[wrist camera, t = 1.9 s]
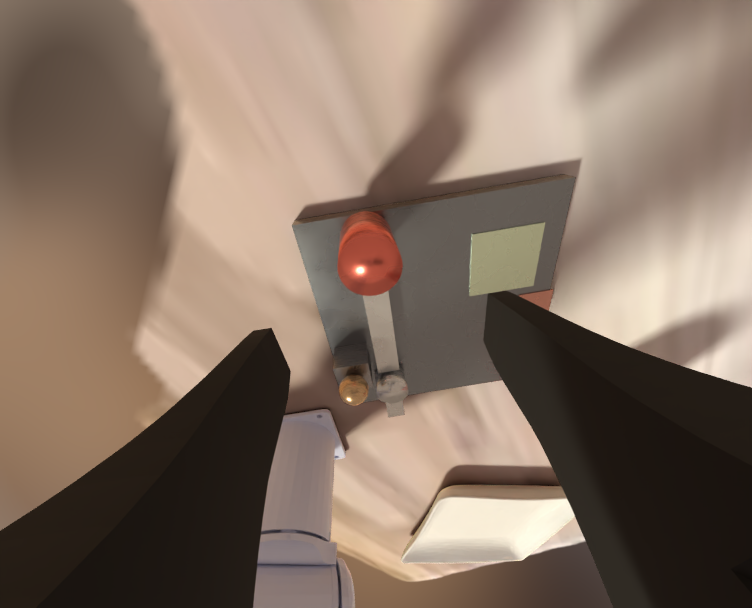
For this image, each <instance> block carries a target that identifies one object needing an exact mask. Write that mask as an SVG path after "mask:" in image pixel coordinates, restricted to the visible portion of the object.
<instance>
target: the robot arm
mask: <svg viewBox="0 0 752 608" xmlns="http://www.w3.org/2000/svg"><path fill="white" fill-rule="evenodd" d="M483 341H484V344H485V346H486V349H487V351H488V353H489V356H490V358H491V360H492V362H493V364H494V366H495V368H496V370H497V372H498V373H499V375H500V377H501V378H502V380H503V382H504V383H505V385H506V386H507V388H508V390H509V391H510V393H511V395H512V396H513V398H514V399H515V401H516V403H517V404H518V406H519V408H520V409H521V411H522V412H523V414H524V416H525V417H526V419H527V421H528V422H529V424H530V425H531V427H532V429H533V431H534V432H535V434H536V436H537V438H538V439H539V441H540V443H541V445H542V447H543V449H544V451H545V453H546V455H547V457H548V460H549V462H550V464H551V466H552V468H553V470H554V472H555V474H556V476H557V478H558V480H559V482H560V485H561V487H562V489H563V491H564V493H565V495H566V497H567V500H568V502H569V504H570V506H571V508H572V510H573V513H574V515H575V517H576V520H577V522H578V524H579V526H580V529H581V531H582V533H583V536H584V538H585V540H586V542H587V545H588V547H589V549H590V551H591V554H592V556H593V559H594V561H595V564H596V566H597V568H598V571H599V573H600V576H601V578H602V581H603V583H604V586H605V588H606V590H607V593H608V596H609V598H610V600H611V603H612V605H613V608H752V388H751V387H747V386H744V385H740V384H737V383H733V382H730V381H727V380H724V379H721V378H717V377H714V376H711V375H708V374H705V373H701V372H698V371H695V370H692V369H689V368H686V367H683V366H680V365H677V364H674V363H671V362H668V361H665V360H663V359H660V358H657V357H654V356H652V355H649V354H646V353H644V352H641V351H638V350H636V349H633V348H630V347H628V346H625V345H623V344H620V343H618V342H615V341H613V340H611V339H608V338H606V337H604V336H601V335H599V334H597V333H595V332H592V331H590V330H588V329H585V328H583V327H581V326H579V325H577V324H575V323H573V322H570V321H568V320H566V319H564V318H562V317H560V316H558V315H556V314H554V313H552V312H550V311H548V310H546V309H544V308H542V307H540V306H538V305H536V304H534V303H532V302H530V301H528V300H526V299H524V298H522V297H520V296H518V295H516V294H513V293H511V292H509V291H500V292H494V293H488V296H487V306H486V317H485V327H484V338H483ZM290 372H291V371H290V369H289V366H288V364H287V362H286V360H285V357H284V355H283V353H282V351H281V348H280V346H279V344H278V342H277V339H276V337H275V335H274V333H273V330H272V328H268V329H262V330H256V331H253V332H252V333H250V334H249V335H248V336H247V337H246V338H245V339H244V340H243V341H242V342H241V343H240V344H239V345H237V346H236V347H235V348H234V349H233V350H232V351H231V352H230V353H229V354H228V355H227V356H226V357H225V358H224V359H223V360H222V361H221V362H220V363H219V364H218V365H217V366H216V367H215V368H214V369H213V370H212V371H211V372H210V373H209V374H208V375H207V376H206V377H205V378H204V379H203V380H202V381H200V382H199V383H198V384H197V385H196V386H195V387H194V388H193V389H192V390H191V391H189V392H188V393H187V394H186V395H185V396H184V397H183V398H182V399H181V400H180V401H178V402H177V403H176V404H175V405H174V406H173V407H172V408H171V409H169V410H168V411H167V412H166V413H165V414H164V415H162V416H161V417H160V418H159V419H158V420H156V421H155V422H154V423H153V424H152V425H150V426H149V427H148V428H147V429H145V430H144V431H143V432H141V433H140V434H139V435H138V436H136V437H135V438H134V439H133V440H131V441H130V442H129V443H127V444H126V445H125V446H124V447H122V448H121V449H120V450H118V451H117V452H115V453H114V454H113V455H112V456H110V457H108V458H107V459H106V460H104V461H103V462H102V463H100V464H99V465H97V466H96V467H95V468H93V469H92V470H90V471H89V472H88V473H86V474H85V475H84V476H82V477H81V478H79V479H78V480H77V481H75V482H74V483H72V484H71V485H69V486H68V487H66V488H65V489H64V490H62V491H61V492H59V493H58V494H56V495H55V496H53V497H52V498H50V499H49V500H47V501H46V502H44V503H43V504H41V505H40V506H38V507H37V508H35V509H34V510H32V511H30V512H29V513H27V514H26V515H24V516H23V517H21V518H20V519H18V520H17V521H15V522H13V523H12V524H10V525H9V526H7V527H6V528H4V529H3V530H1V531H0V608H355V598H354V587H353V580H352V576H351V574H350V571H349V569H348V568H347V566H346V563H345V561H344V560H343V559H342V558H336V557H337V543H335V542H331V523H332V501H333V480H334V460H336V459H342V458H344V457H345V456H346V452H345V449H344V447H343V444H342V441H341V439H340V436H339V433H338V431H337V428H336V425H335V423H334V420H333V418H332V415H331V412H330V411H329V410H328V409H321V410H315V411H309V412H302V413H296V414H290V415H284V413H285V409H286V404H287V400H288V392H289V383H290Z"/></svg>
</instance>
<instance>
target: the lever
mask: <svg viewBox="0 0 752 608" xmlns="http://www.w3.org/2000/svg"><path fill="white" fill-rule="evenodd" d="M337 267H338V274H339V277H340V279H341V281H342V283H343V284H344V285H345V286H346V287H347V288H348V289H349V290H351V291H352V292H354V293H356V294H359V295H363V299H364V304H365V309H366V314H367V319H368V324H369V329H370V334H371V339H372V344H373V349H374V354H375V359H376V364H377V369H378V370H377V371H376V373H375V382H376V392H377V397H378V399H379V400H380V401H382V402H384V403H386V407H387V412H388V417H394V416H400V415H405V414H404V407H403V399H405V398H406V397H407V395H408V387H407V382H406V378H405V373H404V370H403V369H402V368H401V367H400V366H399V363H398V356H397V349H396V341H395V334H394V327H393V320H392V313H391V306H390V299H389V292H388V290H390V289H391V288H392V287H393V286H394V285H395V284H396V283H397V282H398V280H399V278H400V276H401V273H402V268H403V262H402V258H401V255H400V252H399V250H398V247H397V244H396V242H395V239H394V237H393V234H392V231H391V229H390V226H389V224H388V223H387V221H386V220H385V219H384V218H383V217H382V216H380V215H379V214H376V213H374V212H369V211H363V212H358V213H356V214H354V215H352V216H350V217H349V218H348V219H347V220H346V221H345V222H344V224H343V226H342V228H341V232H340V242H339V254H338V265H337Z"/></svg>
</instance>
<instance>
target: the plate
mask: <svg viewBox="0 0 752 608" xmlns="http://www.w3.org/2000/svg"><path fill="white" fill-rule="evenodd" d="M575 178H576V177H573V176H569V175H565V174H563V175H557V176H552V177H546V178H540V179H534V180H528V181H522V182H516V183H510V184H505V185H499V186H493V187H487V188H481V189H475V190H469V191H464V192H458V193H452V194H446V195H440V196H434V197H428V198H422V199H417V200H411V201H405V202H399V203H393V204H387V205H381V206H376V207H370V208H364V209H358V210H352V211H346V212H340V213H335V214H329V215H323V216H317V217H311V218H305V219H299V220H295V221H294V223H293V224H292V227H293V231H294V234H295V237H296V240H297V243H298V247H299V250H300V253H301V256H302V259H303V262H304V266H305V269H306V272H307V275H308V278H309V281H310V285H311V288H312V291H313V294H314V297H315V301H316V304H317V307H318V310H319V313H320V316H321V320H322V323H323V326H324V329H325V332H326V336H327V339H328V342H329V345H330V348H331V351H332V355H333V358H334V361H333V371H334V374H335V377H336V380H337V383H338V386H339V395H340V397H341V399H342V400H343V402H345V403H346V404H348V405H351V406H356V405H359V404H361V403H363V402H369V401H375V400H379V399H378V397H377V392H376V382H375V373H376V371H377V370H378V369H377V364H376V359H375V354H374V349H373V344H372V339H371V334H370V329H369V324H368V319H367V314H366V309H365V304H364V299H363V295H359V294H356V293H354V292H352V291H351V290H349V289H348V288H347V287H346V286H345V285H344V284H343V283H342V281H341V279H340V277H339V274H338V267H337V265H338V254H339V242H340V232H341V228H342V226H343V224H344V222H345V221H346V220H347V219H348V218H349V217H350V216H352V215H354V214H356V213H358V212H363V211H369V212H374V213H376V214H379V215H380V216H382V217H383V218H384V219H385V220H386V221H387V223H388V224H389V226H390V229H391V231H392V234H393V237H394V239H395V242H396V244H397V247H398V250H399V252H400V255H401V258H402V262H403V268H402V273H401V276H400V278H399V280H398V282H397V283H396V284H395V285H394V286H393V287H392V288H391V289H390V290H388V292H389V299H390V306H391V313H392V320H393V327H394V334H395V341H396V349H397V356H398V363H399V366H400V367H401V368H402V369H403V370H404V373H405V378H406V382H407V387H408V395H412V394H419V393H425V392H431V391H437V390H443V389H450V388H456V387H462V386H468V385H474V384H481V383H487V382H493V381H499V380H502V378H501V377H500V375H499V373H498V372H497V370H496V368H495V366H494V364H493V362H492V360H491V358H490V356H489V353H488V351H487V349H486V346H485V344H484V341H483V338H484V327H485V317H486V306H487V296H488V293H494V292H500V291H509V292H511V293H513V294H516V295H518V296H520V297H522V298H524V299H526V300H528V301H530V302H532V303H534V304H536V305H538V306H540V307H542V308H544V309H546V310H548V311H549V307H550V303H551V298H552V294H553V289H551V290H550V287H551V283H552V279H553V274H554V270H555V265H556V261H557V257H558V252H559V248H560V243H561V239H562V235H563V230H564V226H565V221H566V217H567V213H568V208H569V204H570V200H571V195H572V191H573V186H574V182H575Z"/></svg>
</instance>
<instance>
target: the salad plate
mask: <svg viewBox="0 0 752 608" xmlns="http://www.w3.org/2000/svg"><path fill="white" fill-rule="evenodd" d="M574 517H575V515H574V513H573V510H572V508H571V506H570V504H569V502H568V500H567V497H566V495H565V493H564V491H563V489H562V487H561V486H539V485H453V486H449V487H446V488H444V489H443V490H441V491H440V492H439V494H438V496H437V498H436V500H435V501H434V503H433V505H432V507H431V509H430V511H429V513H428V514H427V516H426V517H425V519H424V521H423V522H422V524H421V526H420V527H419V528H418V530H417V531H416V533H415V534H414V536H413V537H412V538H411V540H410V541H409V543H408V544H407V546H406V548H405V550H404V552H403V555H402V558H401V562H402V563H483V562H500V561H521V560H523V559H524V558H526V557H527V556H528V555H530V554H531V553H532V552H533V551H535V550H536V549H537V548H538V547H540V546H541V545H542V544H543V543H545V542H546V541H547V540H548V539H550V538H551V537H552V536H553V535H554V534H556V533H557V532H558V531H559V530H560V529H561V528H562V527H564V526H565V525H566V524H567V523H568V522H569V521H571V520H572V519H573V518H574Z"/></svg>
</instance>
